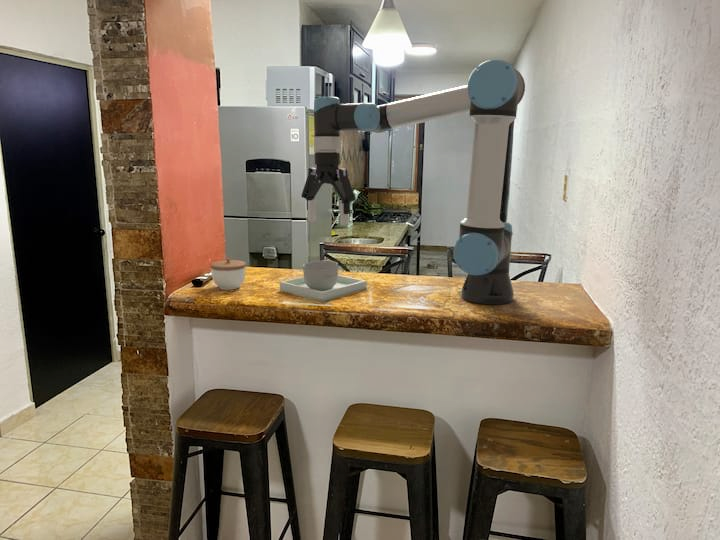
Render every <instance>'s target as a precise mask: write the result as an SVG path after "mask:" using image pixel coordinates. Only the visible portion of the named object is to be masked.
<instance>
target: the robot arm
mask: <svg viewBox="0 0 720 540" xmlns="http://www.w3.org/2000/svg"><path fill="white" fill-rule="evenodd" d="M525 91H526V83H525V78H524V77H523V75H522V73H521V72H520V71H519V70H518V69H516V68H515V67H514V66H513V65H512V64H511V63H509V62H508V61H505V60H502V59H489V60H486V61H483V62H481V63H480V64H479V65H477V66H476V67H475V68H474V69H473V70H472V72H471V73H470V75H469V78H468V80H467V85H461V86H458V87H454V88H449V89H445V90H442V91H436V92H432V93H427V94H423V95H420V96H414V97H410V98H405V99H402V100H398V101H392V102H389V103H384V104H380V105H377V104H376V103H374V102H357V103H341V101H340V98H339V97H337V96H318V97H316V98H315V99H314V102H313V103H314V104H313V120H314V121H313V122H314V123H313V124H314V129H313V130H314V141H313V142H314V146H313V147H314V148H313V149H314V151H316V152H315V153H314V165H315V166H316V167H309V168H308V172H307V178H306V179H305V180H306V181H305V183H304V187H303V190H302V193H301V198H304V199H305V200H306V210H307V219H308V220H307V221H308V222H311V223H312V222H316V221H317V203H316V202H317V200H316V199H315V197H317V194H318V192H319V191H320V189H321V187H323V185H324V184H326V185H327V184H329V185H331V186H332V187H333V189H334V190H335V192H336V193H337V195H338V196H339V198H340V200H341V202H340V204H339V205H340V212H339V213H340V215H339V216H340V226H348V225H349V215H350V213H351V203H353V202H355V201H356V196H355V192H354V190H353V187H352V184H351V181H350V179H349V175H348V169H347V168H339V166H340V164H341V159H340V158H341V153H340V152H339V151H341V148H340V147H341V146H340V145H341V144H340V143H341V142H340V138H341V137H340V135H341V132H343V131H344V132H345V131H349V132H350V131H351V132H352V131H353V132H354V131H355V132H357V131H358V132H369V133H376V134H381V133H384V132H387V131H389V130H393V129H398V128H403V127H408V126H413V125H416V124H422V123H427V122H428V123H429V122H432V121H436V120H437V121H438V120H442V119H446V118H451V117H456V116H461V115H462V116H463V115H467V114H469V115H468V116H469V118H470V120H471V121H472V122H473V124H474V126H473V130H474V131H473V140H472V151H471V152H472V153H471V154H472V155H471V164H470V175H469V183H468V184H469V186H468V195H467V197H468V198H467V207H466V216H465V217H464V218H463V219H462V220H461V221H460V223H459V224H460V225H459V235H458V239H457V240H456V242H455V245H454V247H453V252H452V253H453V259H454V261H455V263H456V266H457V267H458V268H459V269H460V270H461V271H462V272H463V273H466V274H467V275H466V277H465V280H464V282H463V285H462V287H461V295H460V296H461V298H462V299H463V300H465V301H467V302H468V301H469V302H470V303H474V304H480V305H496V306H497V305H504V304H505V305H506V304H510V303H512V302H514V295H515V294H514V289H513V285H512V284H513V283H512V280H511V277H510V263H511V253H512V252H511V250H512V241H513V240H512V239H513V238H512V237H513V235H514V234H513V226H512V224H511V223H510V222H503V221H502V220H501V219H500V216H501V209H502V208H501V207H502V206H501V205H502V197H503V188H504V177H505V168H506V161H507V160H506V159H507V149H508V139H509V130H510V129H509V127H510V125H511V124H512V122H513V123H514V121H515V120H517V111H518V105H519V104H520V103H521V101H522V100H523V97H524V95H525V93H526V92H525Z"/></svg>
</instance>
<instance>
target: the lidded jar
mask: <svg viewBox="0 0 720 540" xmlns="http://www.w3.org/2000/svg"><path fill="white" fill-rule="evenodd" d="M246 266H247V263H246V261H243V260H238V259H237V260H236V259H230V258H229V257H226V259H225V260H217V261H213V262H211V263H210V270H211V271H210V273H211V277H212V280H213V283H214V284H215V285H216V286H217V287H219V289H220V290H223V291H230V290H231V291H232V290H237V289H239V288H240V286H241V285H242V284H243V282H244V281H245V279H246V273H247V272H246V271H247V270H246V268H247V267H246Z"/></svg>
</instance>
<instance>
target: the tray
mask: <svg viewBox="0 0 720 540" xmlns="http://www.w3.org/2000/svg"><path fill="white" fill-rule="evenodd" d="M367 283H368V281H367V280H364V279H360V278H355V277H352V276H346V275H342V274H338V281H337V283H336V284H335V285H334V286H333V288H331V289H329V290H323V291H318V290H314V289H310V287H308V286H307V285H306V284H305V281H304V275H303V276H300V277H295V278H291V279H287V280H282V281H279V291H280V290H281V291H280V292H283V291H284V292H283V293H287V292H288V293H287V294H290V293H292V294H291V295H294V294H296V295H295V296H298V295H299V297H302V296H303V298H305V297H307V298H306V299H309V298H310V300H313V299H314V300H313V301H316V300H317V302H320V303H324V302H327V301H331V299H332V300H335V299H338V297H339V298H342V297H345V295H346V296H348V294H349V295H352V294H351V293H353V294H356V293H360V292H362V291H366V290H367ZM355 292H356V293H355ZM334 298H335V299H334Z"/></svg>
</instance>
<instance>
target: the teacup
mask: <svg viewBox="0 0 720 540" xmlns="http://www.w3.org/2000/svg"><path fill="white" fill-rule="evenodd" d="M338 265H339V263H338V262H337V261H334V260H328V259H323V260H314V261H309V262H305V263H303V264H302V270H303V276H304V281H305V284H306V285H307V286H308V287H310V289H314V290H318V291H323V290H329V289H331V288H333V286H334V285H335V284H336V283H337V281H338V275H339V267H338Z"/></svg>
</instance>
